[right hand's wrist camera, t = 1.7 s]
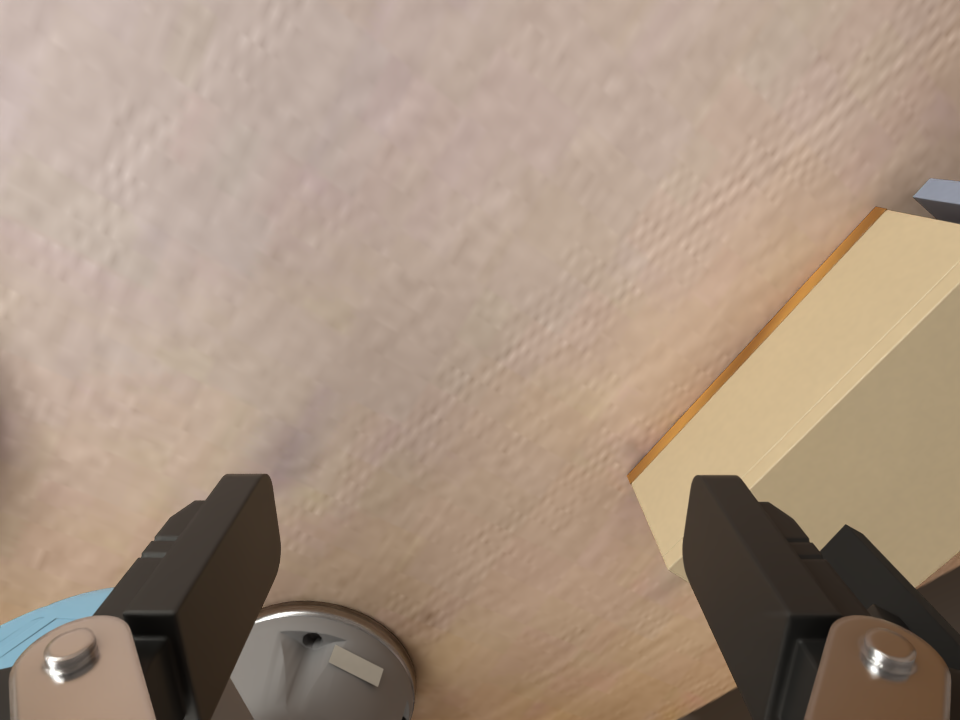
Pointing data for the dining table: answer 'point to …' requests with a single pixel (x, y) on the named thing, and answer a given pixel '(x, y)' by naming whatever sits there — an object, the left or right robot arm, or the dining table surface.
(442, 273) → the dining table surface
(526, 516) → the dining table surface
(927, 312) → the cabinet
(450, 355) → the dining table surface
